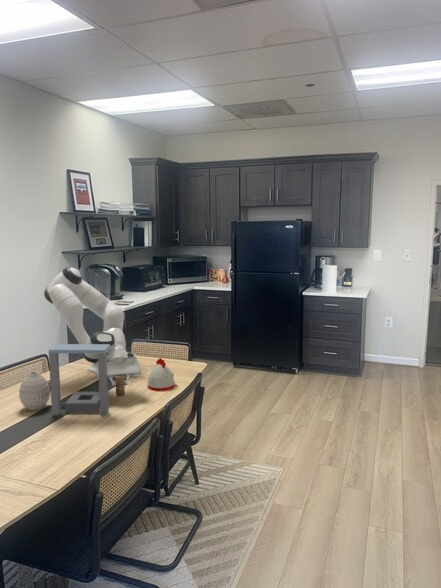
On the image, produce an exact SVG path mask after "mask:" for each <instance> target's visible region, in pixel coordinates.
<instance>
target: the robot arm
mask: <svg viewBox="0 0 441 588" xmlns="http://www.w3.org/2000/svg"><path fill="white" fill-rule="evenodd" d="M43 293H44V294H43V295H44V297H45V299H46V301H47V302H49V303H50V304H52V305H54V307H55V308H56V309H57V312H59V314H60V315H61V317H62V318H63V319H64V321H65V323H66V325H67V328H68V329H69V331H70V333H71V335H72V336H73V338H74V339H75V341H76V344H110V348H109V350H108V351H107V377H108V380H109V381H110V383H111V385H112V387H116V381H115V380H113V379H114V378H115V376H118V375H123V376H124V378H126V380H125V379H124V385H125V386H128V382H129V380H130V377H134V376H135V377H137V376H140V375H141V372H142V369H141V365H140V361H139V360H138V359H137V354H136V353H133V352H128V351H127V349H126V345H127V343H126V338H125V334H124V332H123V330H124V329H123V328H124V322H125V321H124V320H125V312H124V310H123V309H122V308H121V307H120V306H119V305H117V304H116V303H114V302H113V301H112V300H110V299H109V298H108V297H106V296H105V295H104V294H102V293H101V291H99V290H98V289H96V288H94V287H93V286H92V285H91V284H90V283H88V282H86V281H85V280H83V277H82V274H81V272H80V271H79V270H78V269H76V268H75V267H74V266H67V267H66V266H65V268H63V269H62V270H61V272H60V273H58V274H57V275H56V276H55V277H54V278H53V279H52V281H51V282H50V284H49V285H48V286H47V287H46V288H45V290H44V292H43ZM84 307H85V308H86V309H88V310H89V311H91V312H92V313H94V314H95V315H96V316H98V317H99V318H100V319H102V320H103V329H102V330H103V331H95V332H93V333H92V334H91V335H90V336H89V334H88V333H87V331H86V329H85V327H84V320H83V319H84ZM82 356H83V359H84V360H85V361H87V362H89V363H91V365H90V366H88V367H87V371H89V372H92V373H94V374H95V373H96V377H97V378H96V379H98V380H99V372H98V354H94V353H82Z"/></svg>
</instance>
